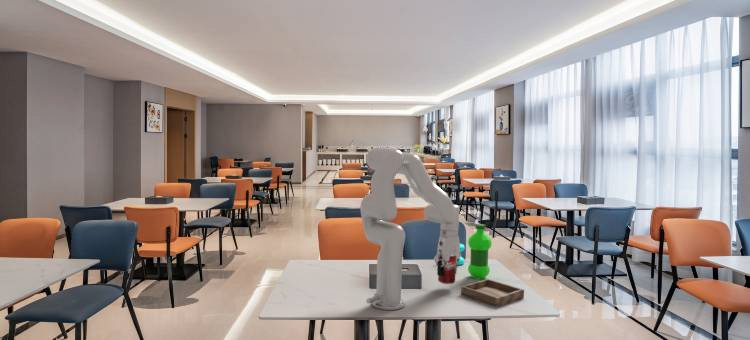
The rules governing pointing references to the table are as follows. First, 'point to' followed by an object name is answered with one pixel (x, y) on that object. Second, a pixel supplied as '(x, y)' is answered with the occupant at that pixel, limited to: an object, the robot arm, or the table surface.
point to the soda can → (448, 271)
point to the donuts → (461, 257)
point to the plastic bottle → (479, 253)
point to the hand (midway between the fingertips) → (446, 274)
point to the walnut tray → (492, 292)
